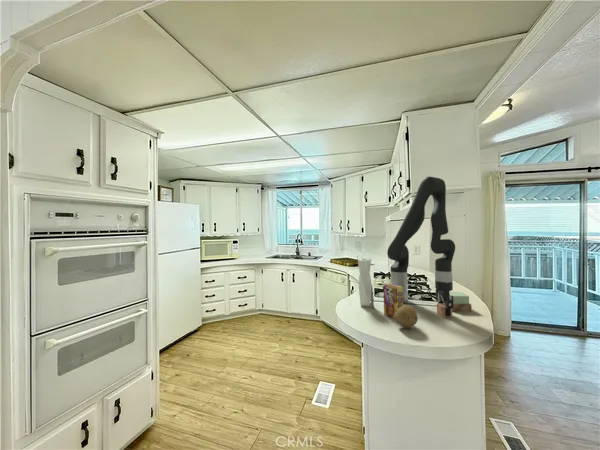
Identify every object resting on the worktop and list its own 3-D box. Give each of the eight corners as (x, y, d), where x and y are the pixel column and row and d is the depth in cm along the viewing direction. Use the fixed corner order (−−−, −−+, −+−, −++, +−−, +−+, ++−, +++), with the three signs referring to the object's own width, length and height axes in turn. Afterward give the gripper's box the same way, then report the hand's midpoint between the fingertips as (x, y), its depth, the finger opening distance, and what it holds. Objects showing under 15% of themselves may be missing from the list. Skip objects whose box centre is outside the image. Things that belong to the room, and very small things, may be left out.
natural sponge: (421, 333, 105) (421, 309, 105) (399, 333, 106) (398, 309, 106) (414, 324, 114) (413, 302, 114) (393, 324, 115) (393, 302, 115)
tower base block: (450, 312, 130) (450, 304, 130) (442, 305, 140) (441, 298, 140) (471, 312, 129) (471, 304, 129) (461, 306, 139) (461, 298, 139)
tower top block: (450, 304, 131) (450, 296, 131) (442, 298, 140) (442, 291, 140) (469, 304, 130) (468, 296, 130) (459, 298, 139) (459, 291, 139)
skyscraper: (358, 307, 140) (357, 256, 140) (357, 302, 148) (356, 254, 148) (374, 307, 138) (373, 256, 138) (372, 303, 146) (371, 254, 146)
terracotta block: (441, 317, 123) (441, 306, 123) (437, 313, 128) (436, 303, 128) (452, 317, 122) (452, 306, 122) (447, 313, 127) (447, 303, 127)
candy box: (404, 318, 122) (403, 286, 122) (397, 320, 120) (396, 287, 120) (389, 312, 130) (389, 283, 130) (383, 314, 128) (382, 284, 128)
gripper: (429, 276, 133) (430, 308, 132) (442, 283, 118) (442, 318, 118) (445, 276, 132) (445, 308, 132) (459, 283, 117) (460, 318, 117)
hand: (444, 313), depth 125 cm, fingers open, 7 cm apart
